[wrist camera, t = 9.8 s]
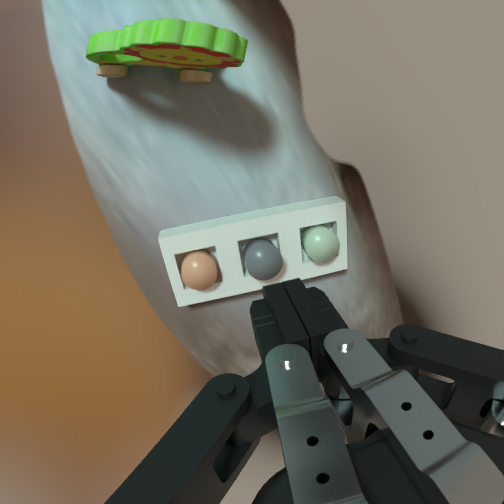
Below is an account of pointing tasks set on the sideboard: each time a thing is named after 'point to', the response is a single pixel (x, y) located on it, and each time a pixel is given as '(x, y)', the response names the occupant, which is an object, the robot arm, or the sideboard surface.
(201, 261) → the terracotta button
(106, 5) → the sideboard surface
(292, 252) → the button board
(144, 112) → the sideboard surface
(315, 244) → the sage button
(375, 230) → the sideboard surface
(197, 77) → the toy lion
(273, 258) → the charcoal button
